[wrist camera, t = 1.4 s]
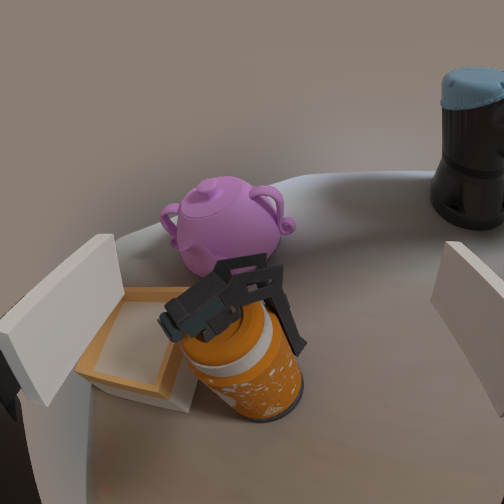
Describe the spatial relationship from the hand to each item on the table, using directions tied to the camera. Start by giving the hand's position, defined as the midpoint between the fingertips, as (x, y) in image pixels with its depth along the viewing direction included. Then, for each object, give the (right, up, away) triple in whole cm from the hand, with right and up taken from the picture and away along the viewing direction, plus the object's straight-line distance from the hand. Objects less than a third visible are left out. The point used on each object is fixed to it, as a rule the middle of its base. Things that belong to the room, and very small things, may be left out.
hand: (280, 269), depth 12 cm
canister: (+2, -15, +25) cm, 29 cm away
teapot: (-4, -1, +42) cm, 42 cm away
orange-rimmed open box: (-14, -15, +32) cm, 38 cm away
